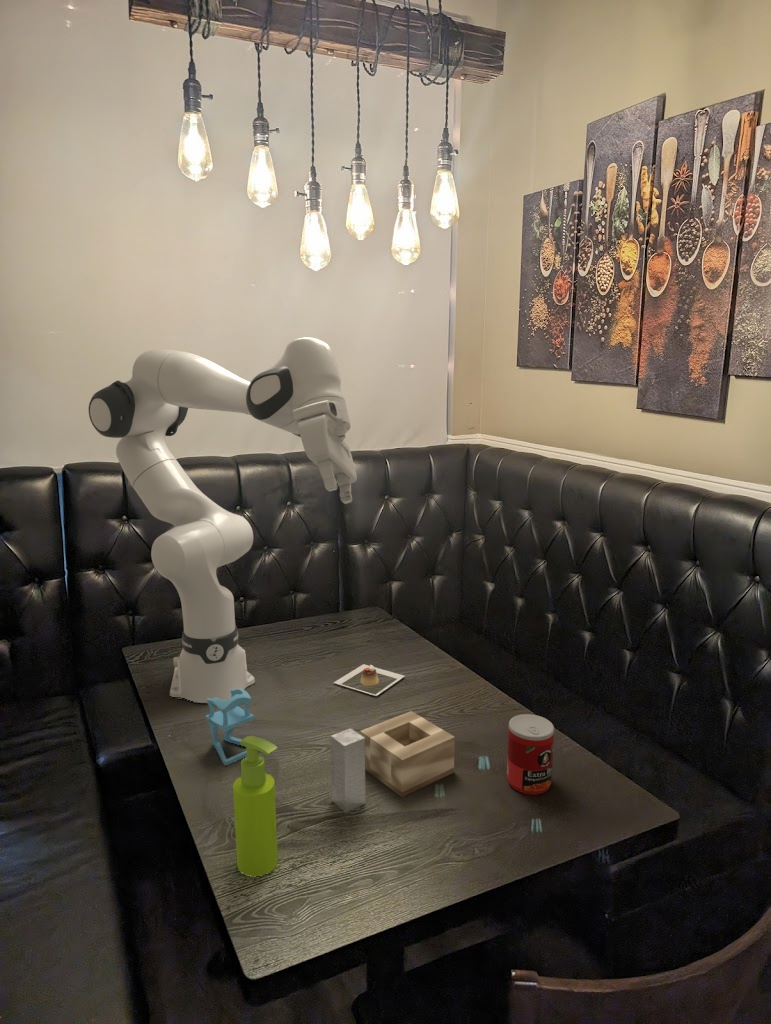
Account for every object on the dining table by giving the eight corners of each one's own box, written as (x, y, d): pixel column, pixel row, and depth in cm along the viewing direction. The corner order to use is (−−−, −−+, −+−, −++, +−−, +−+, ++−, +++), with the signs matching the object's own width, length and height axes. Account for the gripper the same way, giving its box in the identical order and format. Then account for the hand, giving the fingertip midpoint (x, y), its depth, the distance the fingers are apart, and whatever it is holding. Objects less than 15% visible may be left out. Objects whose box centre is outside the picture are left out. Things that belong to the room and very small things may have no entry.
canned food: (525, 800, 117) (528, 741, 115) (497, 776, 124) (499, 719, 122) (561, 788, 121) (564, 730, 119) (531, 765, 128) (534, 709, 125)
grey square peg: (332, 800, 118) (330, 735, 115) (351, 792, 120) (350, 728, 117) (345, 812, 114) (344, 746, 112) (365, 803, 117) (364, 737, 114)
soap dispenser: (264, 886, 98) (259, 757, 94) (228, 867, 102) (221, 743, 98) (291, 861, 103) (287, 738, 99) (256, 844, 107) (250, 725, 103)
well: (360, 765, 128) (360, 730, 126) (411, 744, 135) (411, 710, 133) (402, 797, 118) (402, 760, 117) (453, 772, 126) (454, 736, 124)
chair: (236, 734, 139) (233, 678, 136) (261, 750, 133) (258, 691, 131) (202, 749, 133) (198, 691, 131) (225, 766, 128) (222, 705, 125)
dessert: (333, 687, 160) (332, 667, 159) (363, 668, 170) (363, 649, 169) (376, 700, 154) (376, 680, 153) (405, 680, 163) (405, 661, 162)
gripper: (325, 445, 134) (339, 513, 131) (288, 408, 115) (303, 487, 111) (356, 436, 133) (371, 504, 130) (324, 397, 114) (341, 476, 110)
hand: (339, 496), depth 120 cm, fingers open, 8 cm apart
